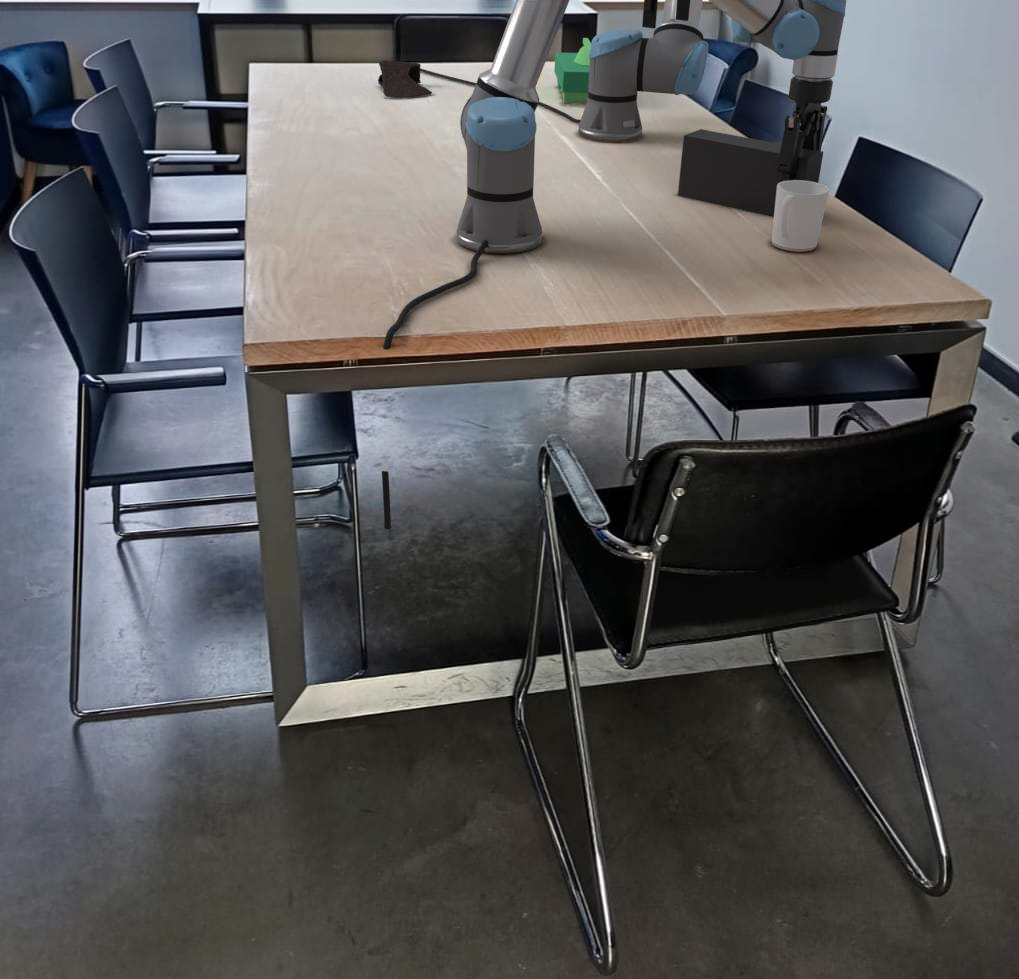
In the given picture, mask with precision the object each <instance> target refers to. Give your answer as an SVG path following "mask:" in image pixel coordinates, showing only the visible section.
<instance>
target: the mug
mask: <svg viewBox="0 0 1019 979" xmlns="http://www.w3.org/2000/svg"><path fill="white" fill-rule="evenodd" d="M829 192H830V188H829V187H828V186H827V185H825V184H823V183H819V182H818V183H816V182H811V181H803V180H789V181H783V182H780V183H778V185H777V191H776V201H775V211H774V216H773V220H772V221H773V223H772V230H771V231H772V232H771V241H770V242H771V244H772V245H773V246H774V247H775V248H778V249H779V250H783V251H788V252H796V253H797V252H798V253H799V252H800V253H802V252H811V251H813V250H815V249H816V248H817V246H818V242H819V237H820V233H821V229H822V224H823V220H824V215H825V212H826V206H827V202H828V197H829Z"/></svg>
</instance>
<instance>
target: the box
mask: <svg viewBox="0 0 1019 979" xmlns="http://www.w3.org/2000/svg"><path fill="white" fill-rule="evenodd" d="M781 145H782V143H779V142H772V141H767V140H764V139H763V140H761V139H756V138H751V137H745V136H740V135H735V134H729V133H724V132H720V131H719V132H718V131H712V130H707V129H703V128H700V129H697V130H694V131H692V132H689V133H686V134H684V135H683V139H682V149H681V158H680V168H679V169H680V170H679V179H678V189H677V196H678V197H685V198H688V199H693V200H698V201H702V202H706V203H711V204H715V205H720V206H725V207H730V208H734V209H738V210H743V211H748V212H752V213H756V214H761V215H766V216H771V217H774V211H775V201H776V191H777V185H778V183H780V182H781V176H782V172H779V171H777V166H778V161H779V156H780V151H781ZM823 157H824V151H822V150H821V151H817V150H810V149H805V148H802V150H801V153H800V156H799V160H798V163H797V167H796V170H795V173H797V177H796V180H803V181H811V182H816V183H819V181H820V176H821V170H822V164H823Z"/></svg>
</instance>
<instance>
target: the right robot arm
mask: <svg viewBox="0 0 1019 979" xmlns="http://www.w3.org/2000/svg"><path fill="white" fill-rule="evenodd" d="M703 1H704V0H664V6H663V13H662V19H661V24H660V25H658V26H657V14H658V4H659V0H643V12H642V24H641V26H642V28H647V29H652V30H653V29H654V30H653V35H652V37H643V36H644V35H643V32H642V31H641V30H640V29H617V30H611V31H605V32H601V33H598V34H596V35H595V36H594V37H593V38H592V39H591V51H590V56H589V58H590V67H589V87H588V101H587V103H585V107H584V110H583V112H582V115H581V118H580V119H578V118H575V117H573V116H571V115H569V114H568V113H566V112H564V111H561V110H560V109H558V108H555V107H553V106H551V105H549V104H546V103H544V102H541V101H539V103H538V105H537V106H540V107H542V108H545V109H547V110H550V111H551V112H554V113H556V114H557V115H560V116H562V117H565V118H566V119H568V120H569V121H571V122H573V123H577V124H578V132H577V133H578V135H579V136H580V137H581V138H583V139H587V140H591V141H596V142H604V143H626V142H632V141H637V140H639V139H641V138H642V136H643V125H642V124H643V123H642V120H641V116H640V112H639V108H638V107H639V106H638V93H639V92H640V93H641V92H643V93H655V94H656V93H657V94H667V95H668V94H669V95H675V96H680V95H694V94H695V93H697V91H698V90H699V88H700V86H701V83H702V81H703V77H704V74H705V70H706V66H707V65H706V64H707V60H708V56H709V43H708V42H707V41H705V40H704V39H705V36H704V33H703V32H702V30H701V29H700V20H701V14H702V7H703ZM656 26H657V27H656ZM420 73H424V74H427V75H431V76H435V77H439V78H442V79H445V80H450V81H454V82H458V83H461V84H466V85H470V86H474V87H475V85H476V83H477V82H474V81H470V80H467V79H461V78H458V77H453V76H449V75H446V74H443V73H442V74H441V73H438V72H434V71H431V70H428V69H423V68H421V67H420Z"/></svg>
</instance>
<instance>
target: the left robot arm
mask: <svg viewBox="0 0 1019 979" xmlns="http://www.w3.org/2000/svg"><path fill="white" fill-rule="evenodd" d="M708 2H710V4H712V5H714V6H715V7H716V8H717V9H719V10H720V11H721V12H722V13H724V14H725V15H726V16H728V17H730V18H731V33H732V37H733V39H734V40H735V41H736V42H737V43H747V44H751V45H752V44H761V45H762V46H764V47H765V48H767V49H769V50H771V51H773V52H774V53H775V54H776V55H778V56H779V57H780V58H782V59H788V60H792V61H793V65H792V70H791V71H792V72H791V74H792V75H793V76H792V78H790V84H789V91H788V98H789V99H790V100H791V101H794V102H795V104H794V109H793V111H792V115H786V116H785V118H784V131H783V135H782V140H781V141H782V142H781V144H782V145H781V151H780V156H779V161H778V166H777V171H779V172H782V176H781V182H783V181H789V180H796V177H797V173H795V170H796V167H797V163H798V160H799V156H800V153H801V150H802V148H805V149H810V150H817V151H822V146H823V137H824V130H825V123H826V122H825V120H826V116H827V112H828V105H827V106H826V105H822V104H824V103H827V102H829V101H830V100H831V96H832V90H833V84H834V81H833V80H832V78H834V77H835V74H836V67H837V61H838V56H839V54H838V53H839V47H840V40H841V35H842V29H843V24H844V20H845V17H846V7H847V0H708ZM569 3H570V0H515V2H514V3H513V4H514V5H513V7H512V10H511V13H510V16H509V18H508V20H507V24H506V26H505V29H504V32H503V35H502V37H501V40H500V42H499V45H498V47H497V50H496V53H495V56H494V58H493V62H492V64H491V67H490V68H489V69H487V70H485V71H483V72H481V73H479V75H478V78H477V80H476V82H475V83H476V85H475V86H474V88H473V91H472V94H471V96H470V97H469V98H468V99H467V100H466V102H465V104H464V105H463V107H462V111H461V114H460V120H459V123H460V124H459V125H460V133H461V136H462V139H463V141H464V146H465V148H466V192H467V193H466V198H465V202H464V205H463V209H462V211H461V214H460V218H459V220H458V224H457V228H456V241H457V243H458V244H459V245H461V246H462V247H464V248H466V249H468V250H470V251H475V253H474V254H473V257H472V258H471V260H470V271H469V272H468V273H467V274H466V275H464V276H462V277H460V278H458V279H455V280H452V281H450V282H447V283H445V284H443V285H440V286H437V287H436V288H434V289H432V290H429V291H426V292H425V293H423V294H421V295H419V296H417V297H415V298H414V299H412V300H411V301H409V302H408V303H407V304H406V305H405V306H404V307H403V309H402V310H401V312H400V313H399V316H398V318H397V319H396V321H395V323H394V324H392V325H391V326H390V327H389V329H388V330H387V331H386V334H385V338H384V341H383V345H382V346H383V347H382V349H383V350H385V351H386V350H390V349H391V346H392V342H393V339H394V335H395V333H396V332H398V331H399V330H400V328H401V327H402V326H403V324H404V322H405V320H406V318H407V316H408V315H409V313H410V311H412V310H413V309H414V308H415V307H416V306H418V305H420V304H421V303H423V302H425V301H427V300H429V299H431V298H434V297H436V296H438V295H440V294H442V293H445V292H446V291H450V290H451V289H454V288H456V287H457V288H458V287H460V286H461V285H465V284H466V283H468V282H470V281H471V280H472V279H473V278H474V277H475V276H476V275H477V273H478V272H477V271H478V269H477V268H478V266H477V265H478V261H479V260H480V257H481V256H482V255H483V253H486V254H497V255H499V254H500V255H506V254H507V255H508V254H517V253H524V252H527V251H530V250H533V249H536V248H538V247H539V246H540V245H541V244H542V243H543V229H542V224H541V221H540V220H541V219H540V218H539V214H538V213H539V212H538V210H537V206H536V204H535V199H534V184H535V181H534V180H535V148H536V147H535V146H536V134H537V122H536V111H537V108H538V106H539V105H538V103H539V102H540V96H539V94H538V92H537V85H538V81H539V79H540V77H541V74H542V72H543V69H544V67H545V65H546V62H547V59H548V56H549V54H550V51H551V49H552V47H553V44H554V41H555V39H556V36H557V33H558V31H559V29H560V26H561V23H562V20H563V18H564V15H565V13H566V10H567V8H568V5H569ZM381 483H382V500H383V502H382V503H383V518H384V519H383V523H384V526H383V527H384V530H386V531H387V530H391V529H392V520H391V518H392V516H391V493H390V476H389V471H388V470H381Z"/></svg>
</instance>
